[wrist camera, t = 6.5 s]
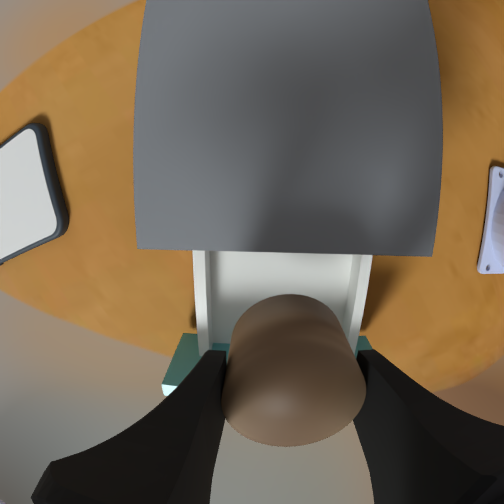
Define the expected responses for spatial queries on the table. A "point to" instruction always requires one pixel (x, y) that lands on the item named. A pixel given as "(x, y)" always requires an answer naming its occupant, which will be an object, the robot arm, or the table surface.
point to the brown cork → (290, 373)
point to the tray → (266, 296)
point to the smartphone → (29, 193)
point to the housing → (288, 127)
